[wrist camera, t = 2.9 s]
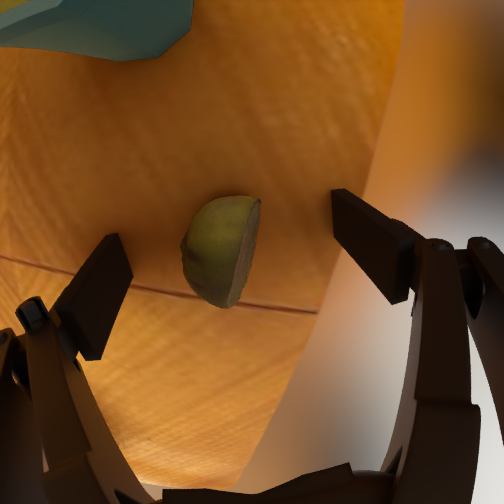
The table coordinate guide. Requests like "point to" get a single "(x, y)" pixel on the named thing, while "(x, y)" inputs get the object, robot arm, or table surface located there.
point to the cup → (96, 26)
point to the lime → (221, 248)
